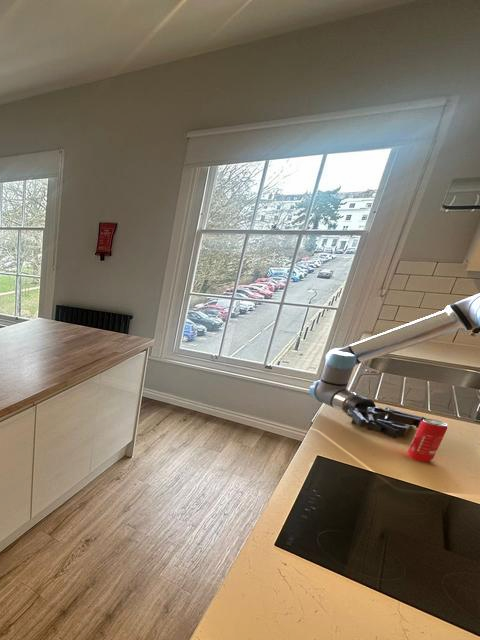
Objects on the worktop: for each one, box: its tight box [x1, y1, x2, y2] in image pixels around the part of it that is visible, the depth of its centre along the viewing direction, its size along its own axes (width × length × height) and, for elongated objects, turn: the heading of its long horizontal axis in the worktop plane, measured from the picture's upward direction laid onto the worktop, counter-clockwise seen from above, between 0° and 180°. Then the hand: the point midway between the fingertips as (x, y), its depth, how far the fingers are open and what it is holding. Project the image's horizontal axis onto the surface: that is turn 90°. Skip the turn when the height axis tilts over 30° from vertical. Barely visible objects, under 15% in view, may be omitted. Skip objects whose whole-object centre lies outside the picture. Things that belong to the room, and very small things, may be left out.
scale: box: [350, 416, 413, 437], centre depth 138 cm, size 13×13×4 cm
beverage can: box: [407, 418, 448, 463], centre depth 116 cm, size 5×5×12 cm
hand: (419, 434), depth 118 cm, fingers open, 13 cm apart
